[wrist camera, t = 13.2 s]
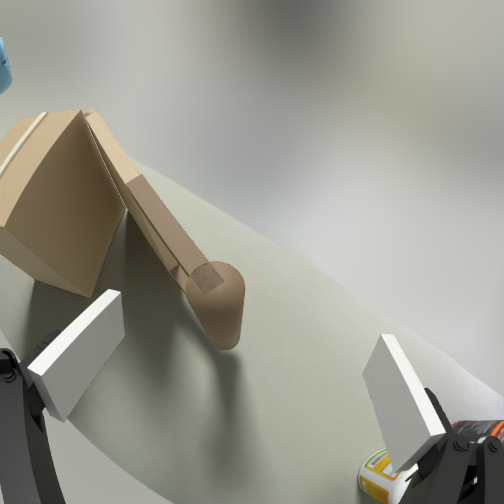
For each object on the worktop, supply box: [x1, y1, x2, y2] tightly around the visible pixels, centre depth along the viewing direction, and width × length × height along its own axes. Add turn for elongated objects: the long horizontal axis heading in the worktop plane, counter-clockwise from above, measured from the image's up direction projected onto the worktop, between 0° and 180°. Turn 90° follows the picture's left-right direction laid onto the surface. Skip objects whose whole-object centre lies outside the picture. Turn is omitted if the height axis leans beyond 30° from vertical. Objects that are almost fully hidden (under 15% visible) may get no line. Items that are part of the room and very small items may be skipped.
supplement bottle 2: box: [451, 420, 504, 449], centre depth 13 cm, size 6×6×11 cm
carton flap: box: [84, 109, 245, 350], centre depth 20 cm, size 19×2×14 cm, turn 39°
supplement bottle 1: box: [358, 448, 418, 504], centre depth 14 cm, size 5×5×10 cm
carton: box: [0, 110, 126, 298], centre depth 20 cm, size 11×9×14 cm
